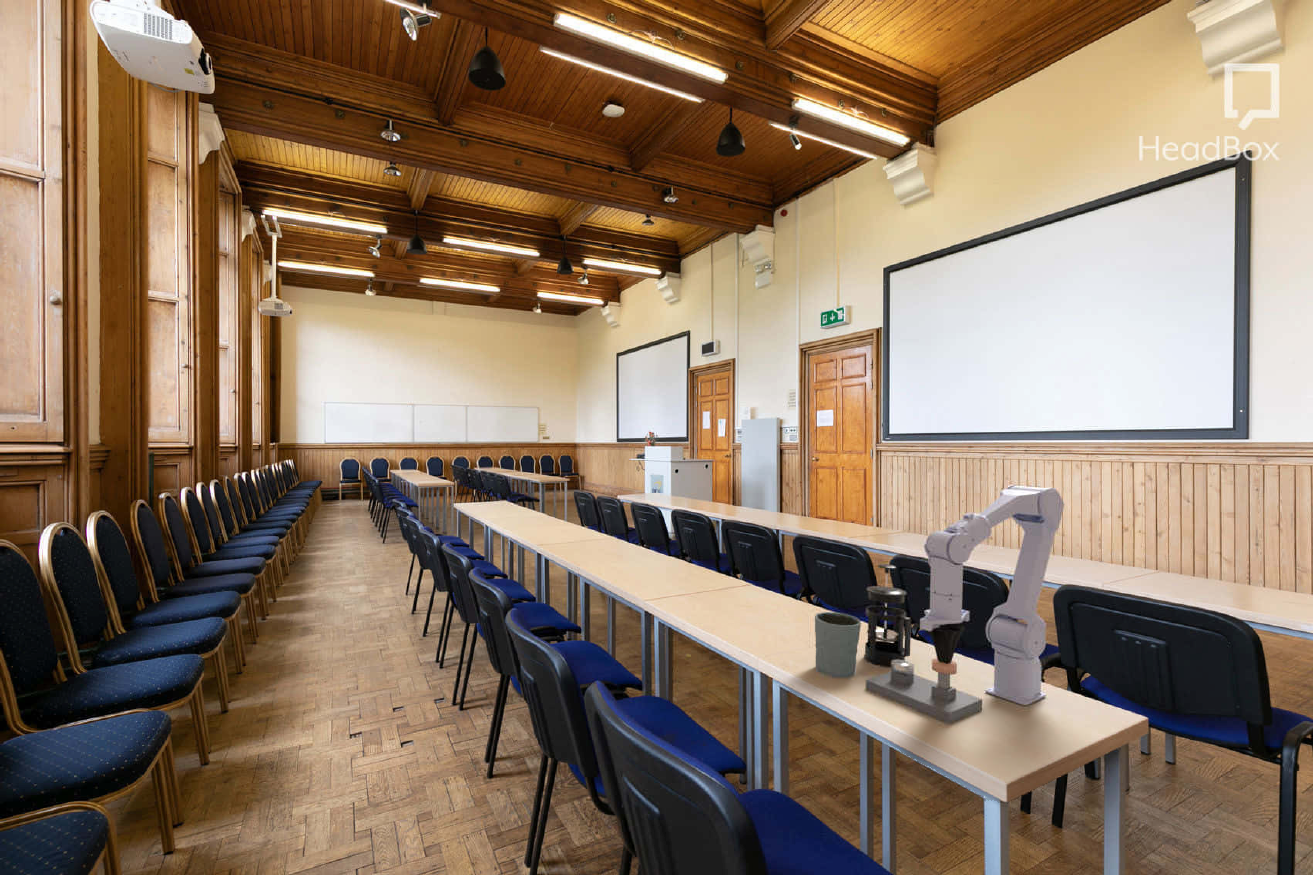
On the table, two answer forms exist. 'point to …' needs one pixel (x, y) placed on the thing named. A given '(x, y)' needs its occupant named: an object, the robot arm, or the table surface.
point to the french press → (883, 650)
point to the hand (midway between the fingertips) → (944, 661)
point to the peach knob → (944, 672)
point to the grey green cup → (836, 643)
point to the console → (925, 696)
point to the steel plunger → (902, 667)
